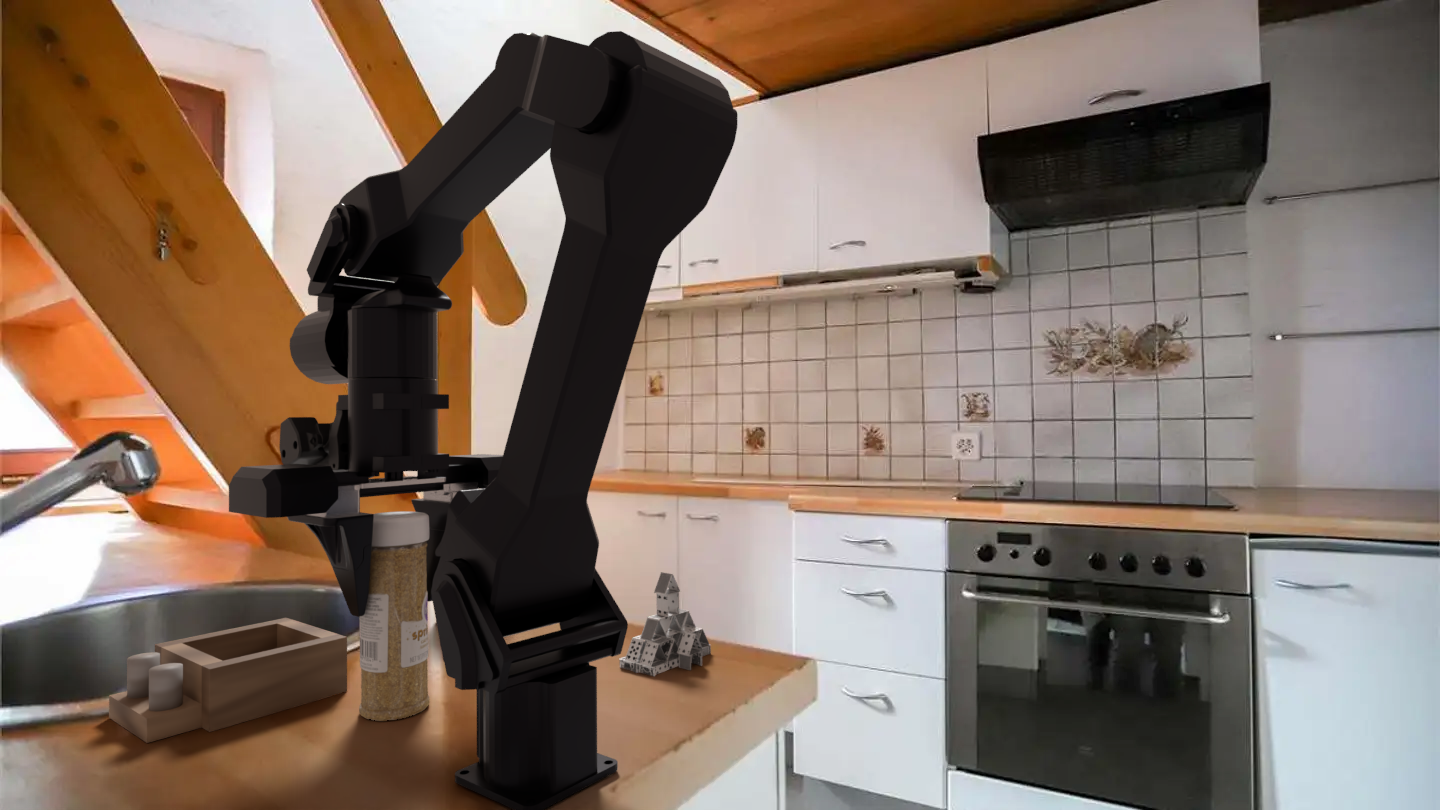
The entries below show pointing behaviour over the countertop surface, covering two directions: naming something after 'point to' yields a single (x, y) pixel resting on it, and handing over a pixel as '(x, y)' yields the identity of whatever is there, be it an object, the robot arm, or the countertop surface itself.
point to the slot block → (229, 678)
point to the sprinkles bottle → (396, 619)
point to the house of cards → (666, 636)
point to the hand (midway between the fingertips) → (394, 607)
